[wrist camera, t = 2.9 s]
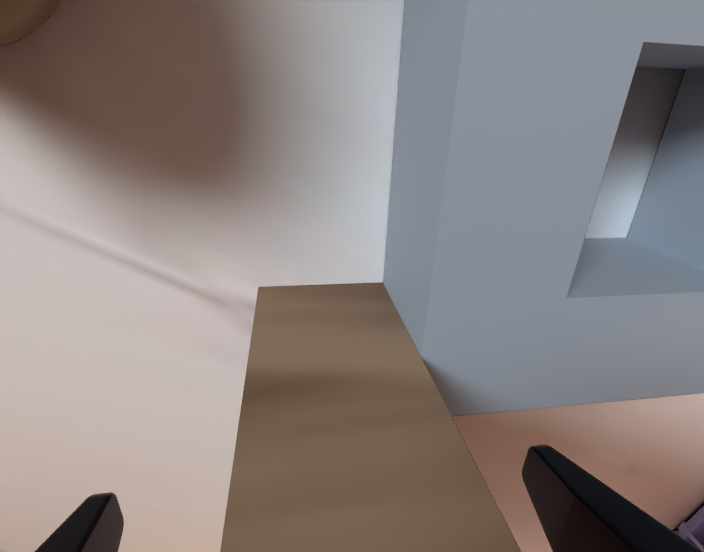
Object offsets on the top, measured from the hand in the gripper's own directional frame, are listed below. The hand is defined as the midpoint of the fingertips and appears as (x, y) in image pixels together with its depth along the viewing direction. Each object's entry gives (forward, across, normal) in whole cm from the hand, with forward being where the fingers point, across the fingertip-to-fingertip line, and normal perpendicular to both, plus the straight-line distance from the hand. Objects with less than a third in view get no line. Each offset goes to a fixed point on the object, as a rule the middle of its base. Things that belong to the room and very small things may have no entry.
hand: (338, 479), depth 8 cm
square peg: (+6, 0, 0) cm, 6 cm away
